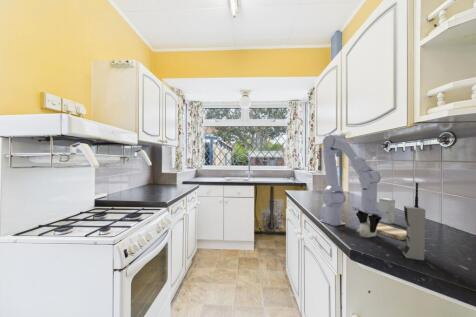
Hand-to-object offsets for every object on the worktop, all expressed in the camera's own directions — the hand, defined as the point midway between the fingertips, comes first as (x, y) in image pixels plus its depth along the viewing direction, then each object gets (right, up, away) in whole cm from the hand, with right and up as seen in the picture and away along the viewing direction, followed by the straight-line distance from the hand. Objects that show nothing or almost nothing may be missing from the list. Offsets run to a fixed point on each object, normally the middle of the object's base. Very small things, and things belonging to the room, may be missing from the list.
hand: (368, 230), depth 100 cm
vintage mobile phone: (+3, -2, -22) cm, 22 cm away
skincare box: (+21, -2, +21) cm, 30 cm away
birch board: (+11, -2, +4) cm, 12 cm away
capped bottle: (0, -2, 0) cm, 2 cm away
